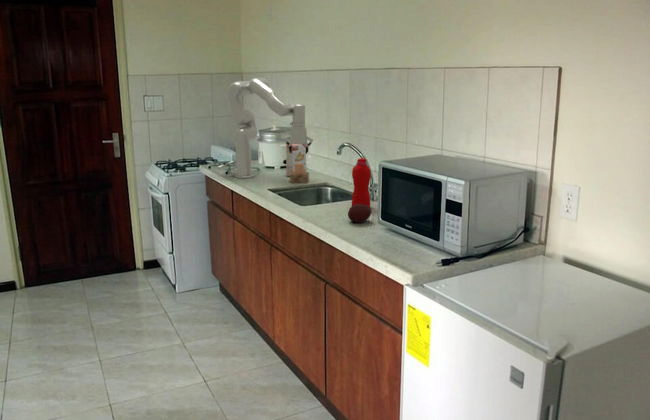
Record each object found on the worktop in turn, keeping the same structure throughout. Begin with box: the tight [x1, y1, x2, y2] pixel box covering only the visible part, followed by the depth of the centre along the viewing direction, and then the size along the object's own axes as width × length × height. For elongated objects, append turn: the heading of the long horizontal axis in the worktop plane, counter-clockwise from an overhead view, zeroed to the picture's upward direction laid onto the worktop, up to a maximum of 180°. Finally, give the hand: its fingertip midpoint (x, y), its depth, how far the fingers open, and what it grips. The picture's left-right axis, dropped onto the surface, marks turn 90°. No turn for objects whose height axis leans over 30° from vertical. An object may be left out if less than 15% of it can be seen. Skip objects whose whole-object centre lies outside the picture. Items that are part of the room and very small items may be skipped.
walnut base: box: [289, 171, 310, 184], centre depth 328 cm, size 10×10×5 cm
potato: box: [347, 204, 372, 224], centre depth 241 cm, size 12×11×8 cm
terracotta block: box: [295, 163, 304, 174], centre depth 327 cm, size 5×5×6 cm
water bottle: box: [348, 157, 372, 209], centre depth 263 cm, size 9×11×25 cm
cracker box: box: [285, 143, 307, 177], centre depth 346 cm, size 14×6×21 cm, turn 143°
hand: (298, 152), depth 324 cm, fingers open, 9 cm apart
